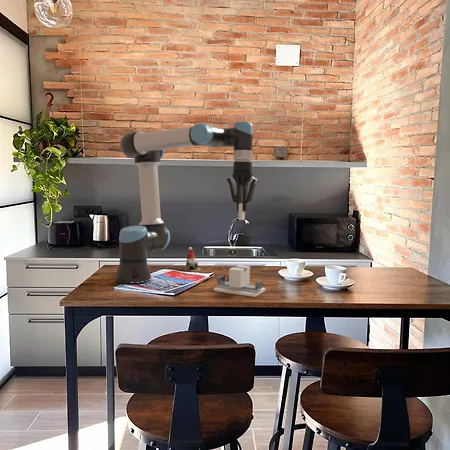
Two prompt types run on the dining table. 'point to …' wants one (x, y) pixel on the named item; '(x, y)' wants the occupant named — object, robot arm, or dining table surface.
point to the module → (239, 276)
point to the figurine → (192, 261)
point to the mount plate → (239, 291)
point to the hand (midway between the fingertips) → (241, 219)
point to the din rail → (248, 287)
